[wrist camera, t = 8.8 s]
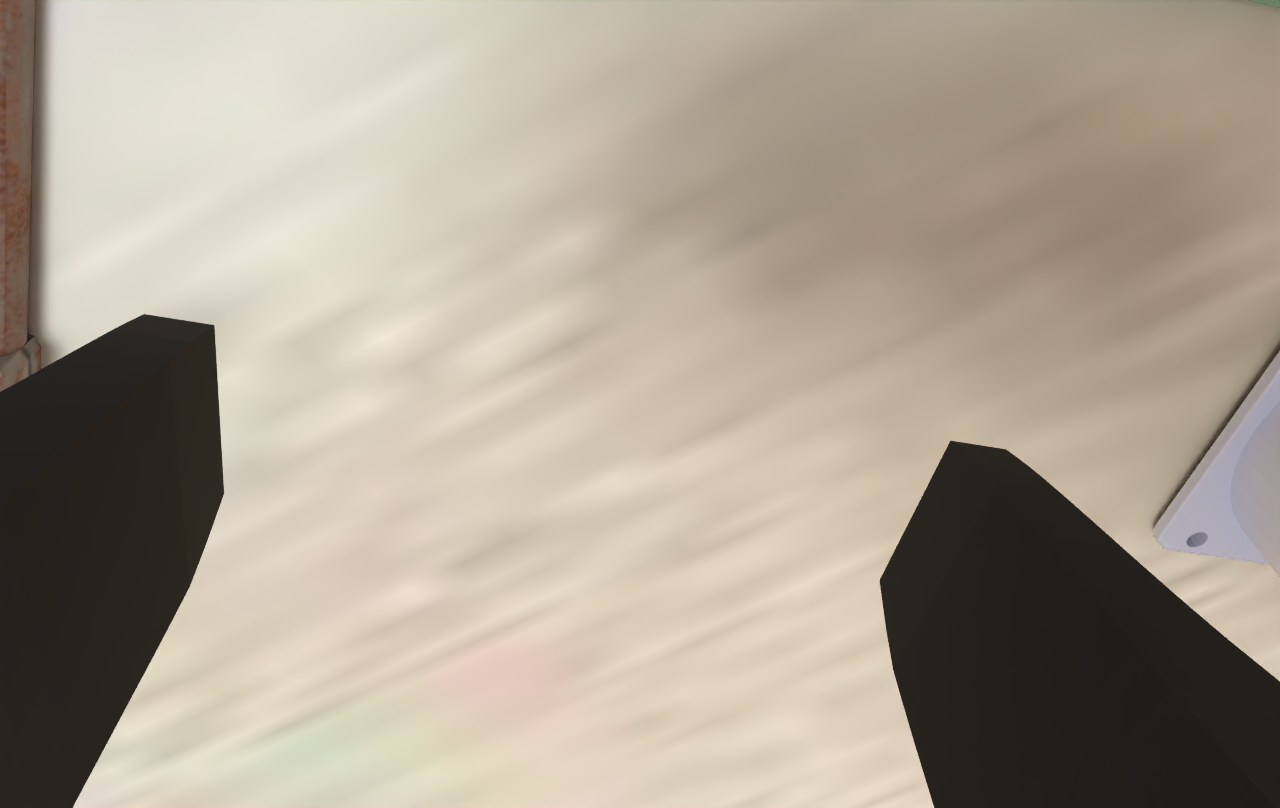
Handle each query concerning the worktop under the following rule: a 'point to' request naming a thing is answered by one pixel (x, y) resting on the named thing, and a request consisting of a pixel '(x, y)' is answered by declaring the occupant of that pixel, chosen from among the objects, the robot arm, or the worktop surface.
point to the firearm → (16, 189)
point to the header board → (1269, 2)
